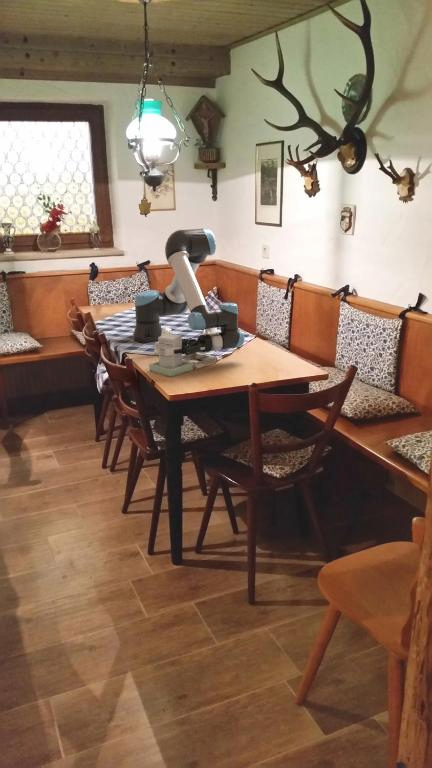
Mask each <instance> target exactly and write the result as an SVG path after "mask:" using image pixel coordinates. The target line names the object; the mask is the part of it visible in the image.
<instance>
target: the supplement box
mask: <svg viewBox="0 0 432 768" xmlns="http://www.w3.org/2000/svg"><path fill="white" fill-rule="evenodd" d="M182 337H183V335H182V334H177V333H175V334H174V333H171V334H164V335H162V336H160V337H158V341H157V343H158V348H159V355H158V361H159V366H161V367H165V368H171V369H173V368H176V367H178V366H180V365H182V356H183V354H182V353H181V354H176V355H169V356H165V349H169V348H176V347H181V349H182V339H183V338H182Z"/></svg>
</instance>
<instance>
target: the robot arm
mask: <svg viewBox="0 0 432 768" xmlns="http://www.w3.org/2000/svg"><path fill="white" fill-rule="evenodd" d="M215 237H216V236H215V234H214V233H213V232H212V230H211V229H209V228H197V229H196V228H195V229H192V228H191V229H178V230H175V231H174V232H172V233H171V234H170V235H169V237H168V238H167V240H166V243H165V247H164V252H165V258H166V261H167V263H168V264H169V265H170V266H171V268H172V270H173V273H174V276H173V278H172V281H171V283H170V284H169V285H167V286H165V289H164V292H163V291H162V292H159V290H156V289H150V290H149V289H148V290H144V291H140V292H138V293H137V294H135V296H134V307H135V309H134V311H135V326H134V331H133V333H132V339H133V341H135V342H139V343H140V342H141V343H153V342H155V343H154V347H155V348H154V350H155V349H156V350H158V349H159V348H158V337H160V336H161V334H162V331H163V329H162V326H161V323H160V318H161V317H167V316H169V317H170V316H179V315H181V314H185V313H186V312H187V311H188V310H189V312H190V313H189V314H188V316H187V321H188V326H189V328H190V329H191V330H192V331H202V330H204V329H210V328H217V329H218V328H220V331H219V332H217V333H210V334H204V335H203V334H200V335H198V338H197V339H195V338H192V337H188V338H182V349H181V347H176V348H169V349H165V356H169V355H176V354H181V353H182V355H189V354H193V353H202V354H205V353H209V352H214V353H215V352H217V351H221V350H223V351H224V350H228V349H229V350H230V349H236V348H237V349H238V348H241V347H242V346H243V345H244V342H245V335H244V332H243V331H242V330H240V329H239V308H238V307H239V306H238V305H237V303H234V302H223V303H221V304H219V305H220V306H219V308H218V309H212V310H211V309H210V310H209V307H208V305H207V302H206V300H205V297H204V296H203V295H204V294H203V293H202V290H201V287H200V285H199V283H198V280H197V278H196V273H197V271H198V269H199V267H200V265H201V264H203V263H204V262H205V261H206V258H207V257H208V256H213V255H214V254H215V253H216V249H217V242H216V238H215Z"/></svg>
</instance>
